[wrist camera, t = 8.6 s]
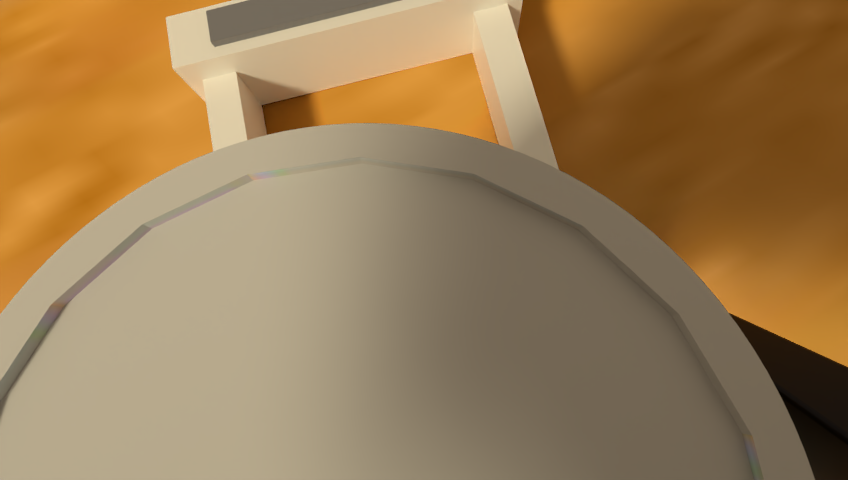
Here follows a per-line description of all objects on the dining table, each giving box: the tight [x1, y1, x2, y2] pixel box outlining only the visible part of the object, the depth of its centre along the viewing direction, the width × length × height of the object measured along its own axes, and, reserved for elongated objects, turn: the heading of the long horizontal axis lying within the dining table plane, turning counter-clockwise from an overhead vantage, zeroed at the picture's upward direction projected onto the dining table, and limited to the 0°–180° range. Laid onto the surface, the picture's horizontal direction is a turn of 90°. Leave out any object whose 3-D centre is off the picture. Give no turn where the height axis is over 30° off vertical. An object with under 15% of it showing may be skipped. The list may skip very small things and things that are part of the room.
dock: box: [166, 0, 559, 170], centre depth 19 cm, size 9×12×4 cm
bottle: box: [0, 123, 815, 480], centre depth 11 cm, size 7×7×15 cm
